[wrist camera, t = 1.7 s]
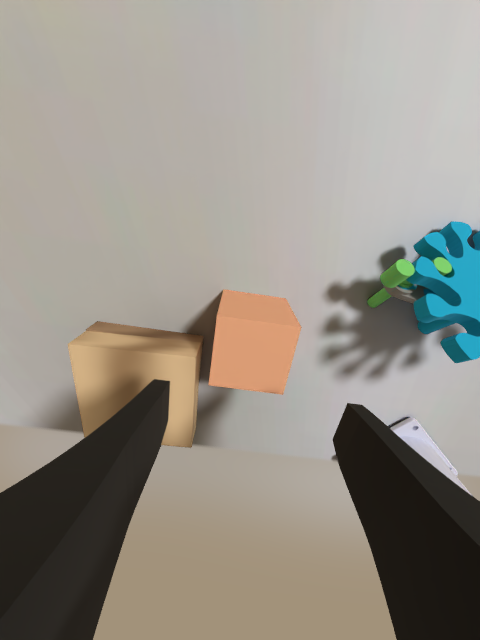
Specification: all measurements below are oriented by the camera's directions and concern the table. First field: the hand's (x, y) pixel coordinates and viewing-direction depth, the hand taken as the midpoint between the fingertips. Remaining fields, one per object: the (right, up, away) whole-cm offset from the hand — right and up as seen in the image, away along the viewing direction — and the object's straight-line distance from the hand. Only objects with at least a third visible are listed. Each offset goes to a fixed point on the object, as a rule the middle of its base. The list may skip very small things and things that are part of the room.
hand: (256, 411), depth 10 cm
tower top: (-8, -1, +9) cm, 12 cm away
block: (0, +4, +8) cm, 9 cm away
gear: (+13, +7, +7) cm, 16 cm away
